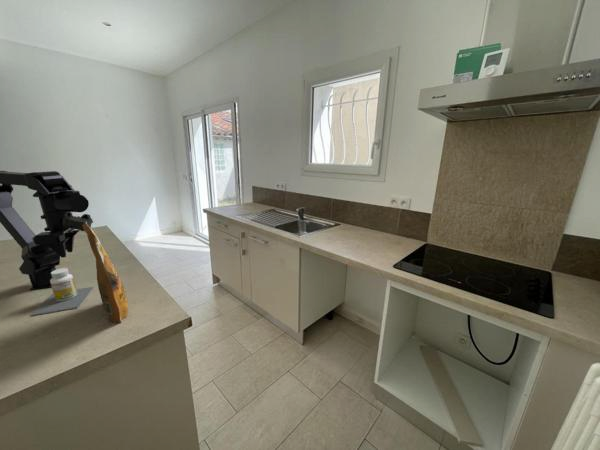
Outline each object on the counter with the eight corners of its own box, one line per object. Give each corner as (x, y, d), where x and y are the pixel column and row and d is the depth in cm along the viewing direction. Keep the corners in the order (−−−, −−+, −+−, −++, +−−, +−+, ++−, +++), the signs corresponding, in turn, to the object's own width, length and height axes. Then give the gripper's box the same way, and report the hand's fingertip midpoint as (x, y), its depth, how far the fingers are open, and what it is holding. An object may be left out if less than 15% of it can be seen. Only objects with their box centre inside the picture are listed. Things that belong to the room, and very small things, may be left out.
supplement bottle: (64, 292, 83) (57, 267, 81) (81, 292, 84) (74, 266, 81) (50, 302, 78) (42, 275, 76) (69, 301, 79) (61, 274, 76)
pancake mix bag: (101, 332, 66) (76, 235, 59) (101, 299, 81) (82, 218, 73) (130, 322, 70) (111, 230, 62) (126, 293, 85) (110, 215, 77)
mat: (30, 316, 72) (30, 315, 72) (53, 293, 84) (53, 292, 84) (77, 308, 76) (77, 307, 76) (93, 287, 88) (92, 286, 88)
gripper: (73, 215, 74) (85, 262, 78) (96, 203, 91) (104, 242, 95) (24, 218, 70) (39, 267, 74) (57, 205, 86) (68, 246, 91)
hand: (67, 254), depth 84 cm, fingers open, 4 cm apart
